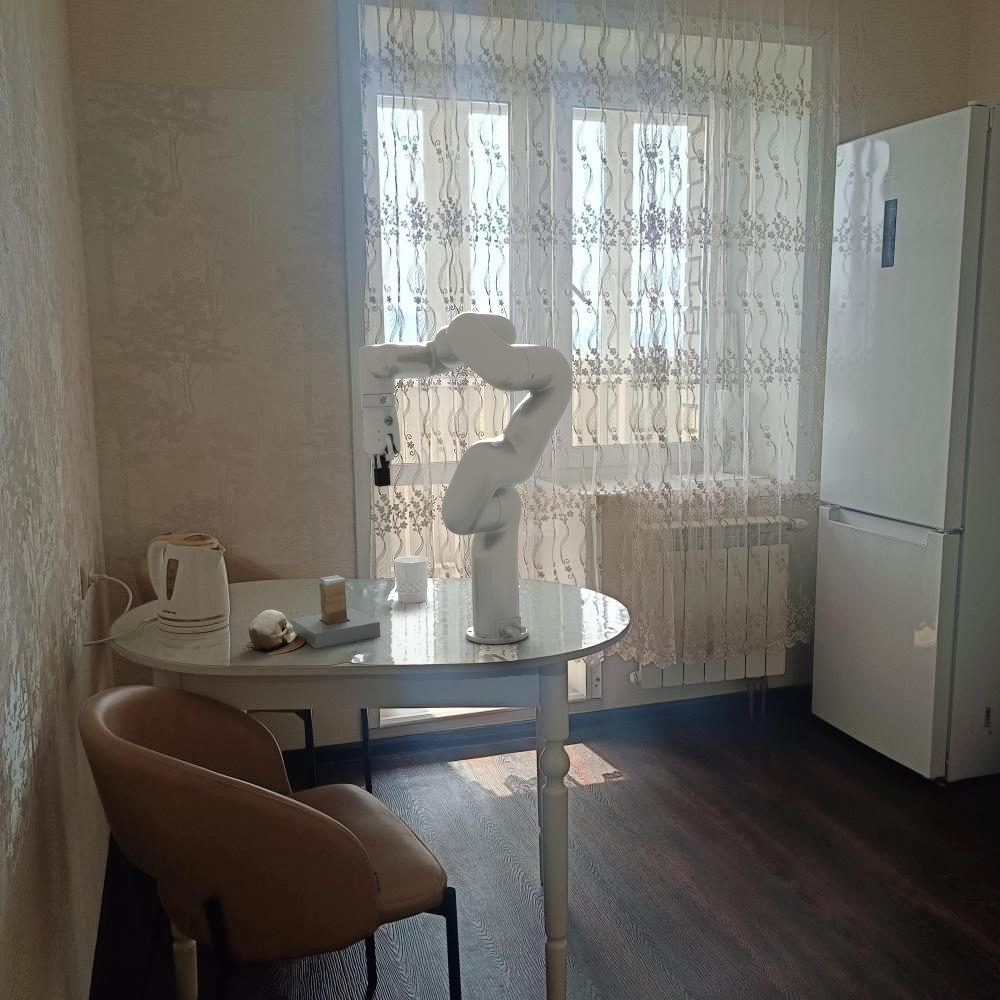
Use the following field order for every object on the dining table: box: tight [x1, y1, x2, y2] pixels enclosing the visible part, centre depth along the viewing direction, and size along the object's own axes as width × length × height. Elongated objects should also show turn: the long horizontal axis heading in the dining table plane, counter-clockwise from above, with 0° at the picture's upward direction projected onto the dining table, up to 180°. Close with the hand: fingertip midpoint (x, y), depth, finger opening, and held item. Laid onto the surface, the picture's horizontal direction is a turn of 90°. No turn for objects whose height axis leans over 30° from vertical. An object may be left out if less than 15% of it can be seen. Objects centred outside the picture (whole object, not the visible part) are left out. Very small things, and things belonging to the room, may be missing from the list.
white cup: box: [393, 555, 429, 604], centre depth 216 cm, size 8×8×10 cm
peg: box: [318, 574, 348, 625], centre depth 189 cm, size 4×4×12 cm
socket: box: [290, 607, 381, 649], centre depth 189 cm, size 14×14×3 cm
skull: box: [243, 609, 306, 656], centre depth 182 cm, size 12×10×10 cm
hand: (382, 485), depth 200 cm, fingers closed
